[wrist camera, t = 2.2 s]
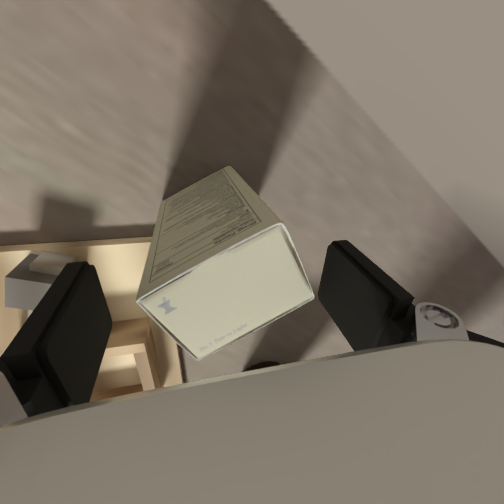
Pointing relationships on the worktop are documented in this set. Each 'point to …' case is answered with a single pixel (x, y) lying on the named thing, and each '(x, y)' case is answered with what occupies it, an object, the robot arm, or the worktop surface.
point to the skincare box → (219, 266)
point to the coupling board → (118, 300)
